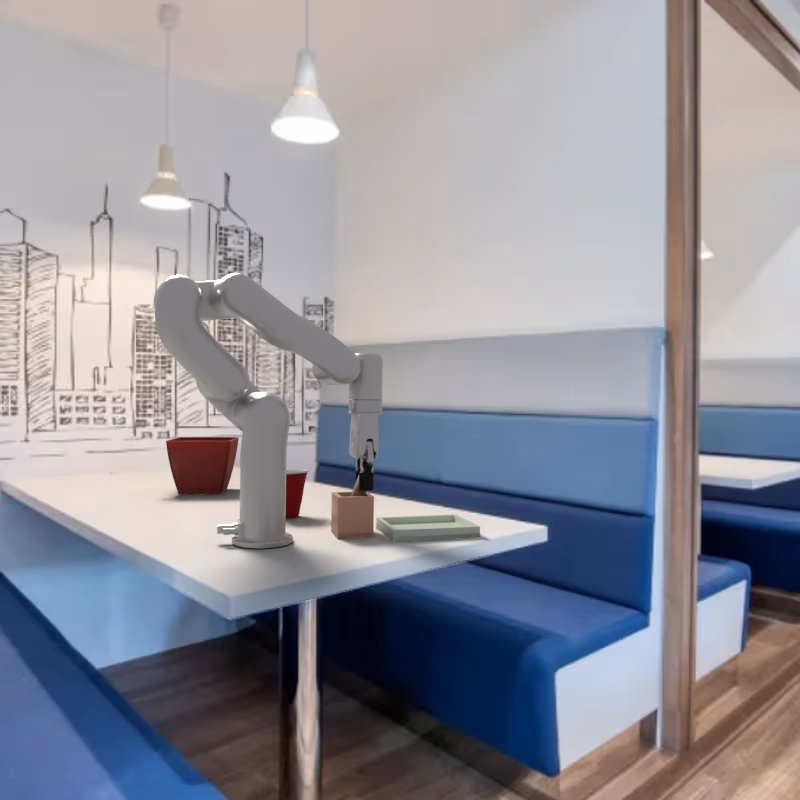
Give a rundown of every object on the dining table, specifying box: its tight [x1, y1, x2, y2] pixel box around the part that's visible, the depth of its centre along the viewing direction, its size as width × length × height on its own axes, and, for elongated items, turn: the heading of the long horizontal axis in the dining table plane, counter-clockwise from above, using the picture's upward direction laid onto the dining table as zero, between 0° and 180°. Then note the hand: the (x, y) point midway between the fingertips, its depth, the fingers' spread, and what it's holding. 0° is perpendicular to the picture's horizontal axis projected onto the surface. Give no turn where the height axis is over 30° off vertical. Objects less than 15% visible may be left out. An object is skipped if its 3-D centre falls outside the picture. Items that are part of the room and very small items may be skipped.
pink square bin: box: [330, 491, 375, 540], centre depth 148 cm, size 8×8×9 cm
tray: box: [375, 513, 481, 543], centre depth 151 cm, size 20×15×2 cm
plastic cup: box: [286, 469, 310, 520], centre depth 168 cm, size 11×11×12 cm
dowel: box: [351, 471, 375, 496], centre depth 149 cm, size 8×3×14 cm, turn 106°
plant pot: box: [165, 436, 239, 495], centre depth 207 cm, size 19×19×17 cm
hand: (364, 488), depth 149 cm, fingers closed on dowel, 3 cm apart
